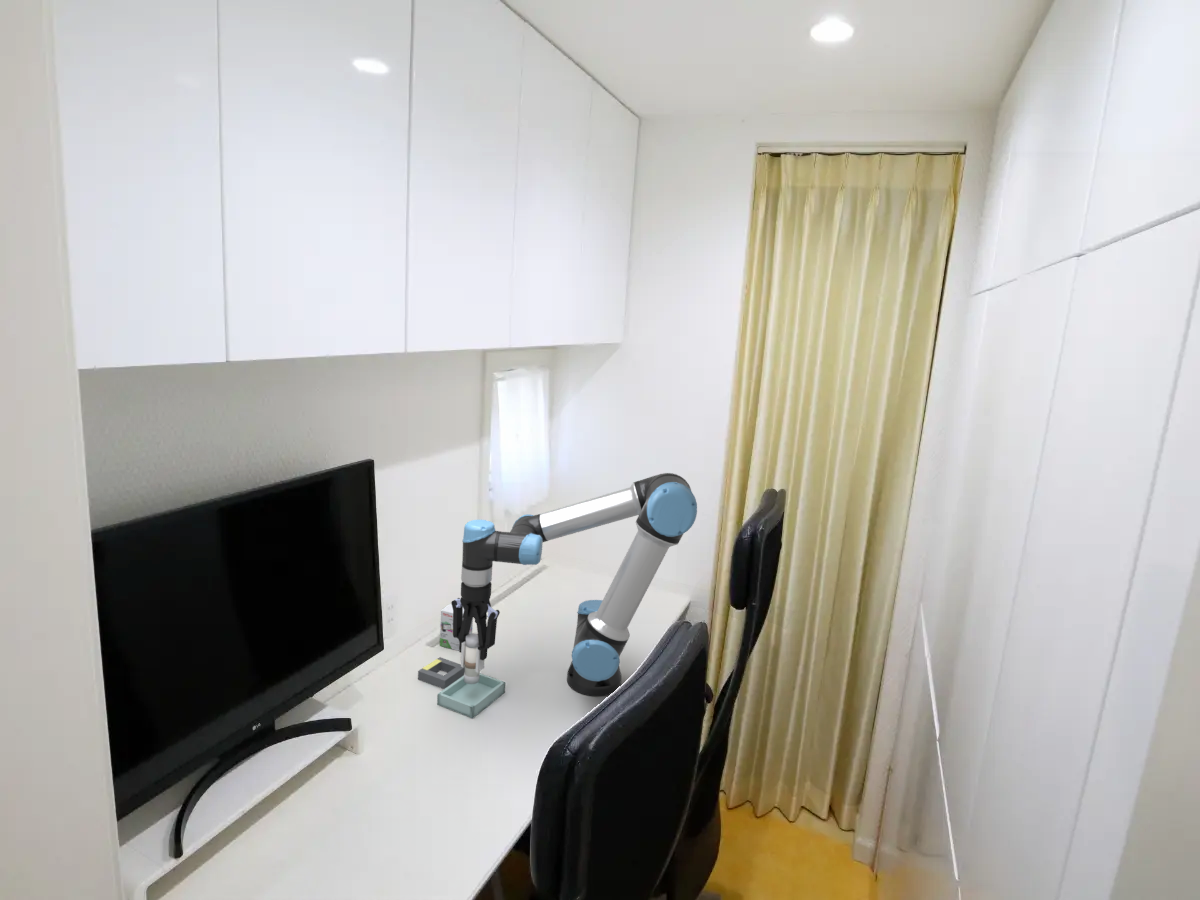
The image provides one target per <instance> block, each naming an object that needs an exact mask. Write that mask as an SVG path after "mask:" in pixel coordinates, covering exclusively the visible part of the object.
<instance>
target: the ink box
mask: <svg viewBox="0 0 1200 900" xmlns="http://www.w3.org/2000/svg"><path fill="white" fill-rule="evenodd" d="M463 613H464V608H463ZM473 622H474V618H473V619H472V623H471V627H470V631H469V634H472V633H473ZM439 627H440V629H439V630H440V631H439V646H440V647H443V648H446V649H451V650H455V651H459V643H460V641H459V639H458V638H454V637H453V608H452V604H451V603H449V604H447V605H446V606H445V607H443V608H442V609H441V610H440V626H439Z"/></svg>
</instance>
